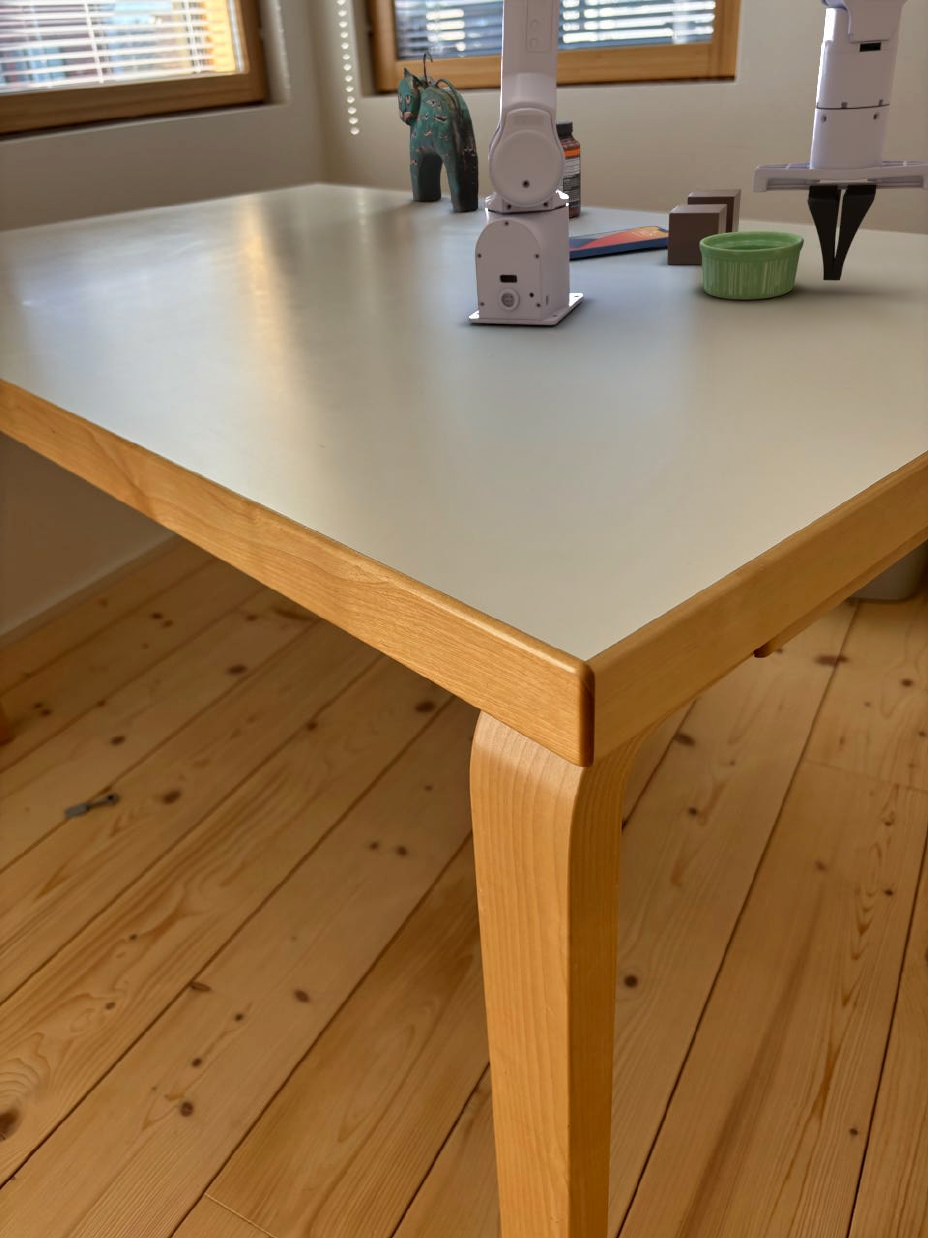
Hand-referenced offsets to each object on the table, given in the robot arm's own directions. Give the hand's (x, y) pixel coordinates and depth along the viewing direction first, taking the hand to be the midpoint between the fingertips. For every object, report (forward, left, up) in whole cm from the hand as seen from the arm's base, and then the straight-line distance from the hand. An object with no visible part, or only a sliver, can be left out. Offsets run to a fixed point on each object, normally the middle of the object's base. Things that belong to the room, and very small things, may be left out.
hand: (832, 277), depth 88 cm
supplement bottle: (+40, +37, -1) cm, 55 cm away
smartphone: (+18, +25, -1) cm, 31 cm away
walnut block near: (+13, +14, -1) cm, 19 cm away
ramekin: (0, +7, -1) cm, 7 cm away
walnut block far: (+23, +14, -1) cm, 27 cm away
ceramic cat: (+51, +58, -1) cm, 77 cm away
